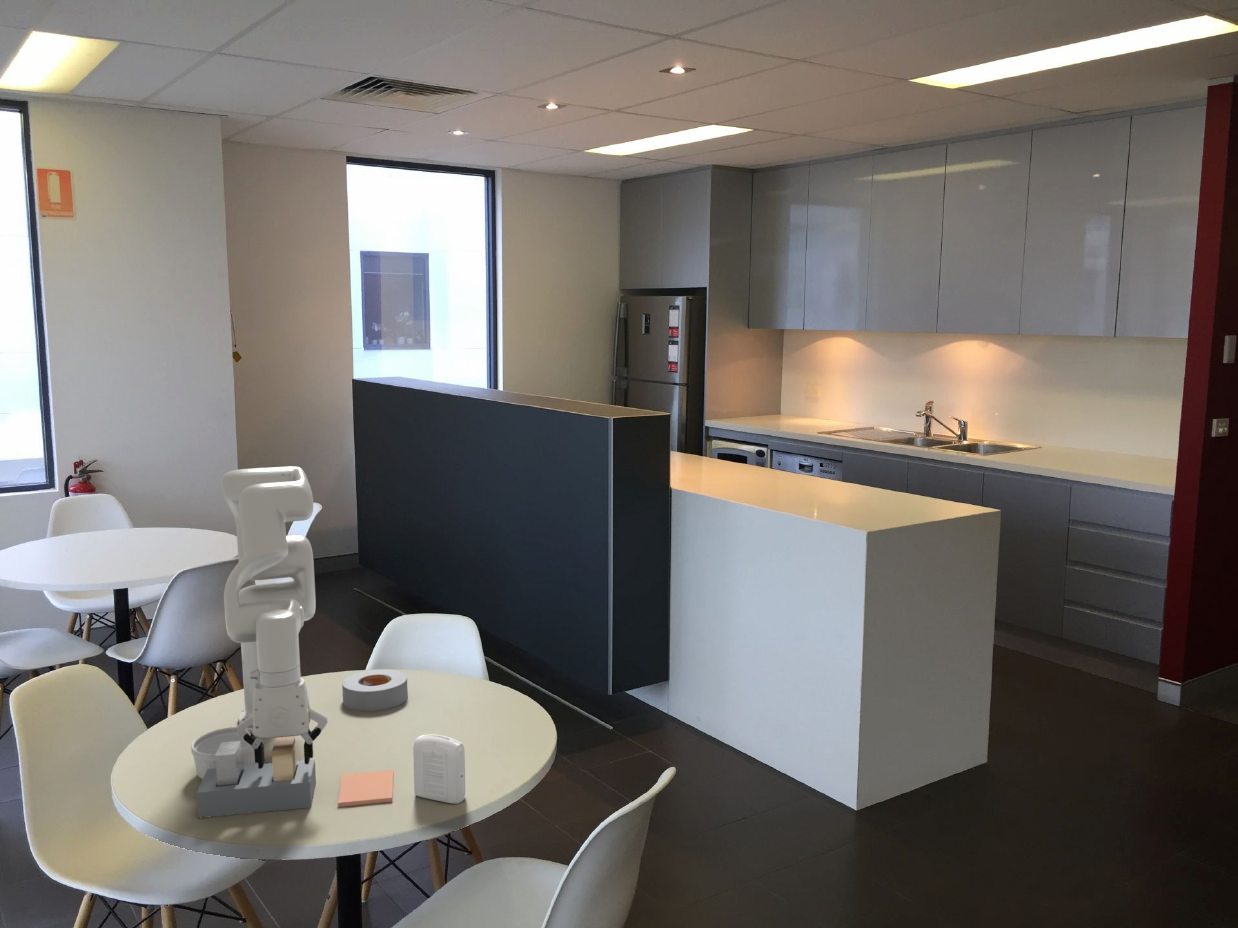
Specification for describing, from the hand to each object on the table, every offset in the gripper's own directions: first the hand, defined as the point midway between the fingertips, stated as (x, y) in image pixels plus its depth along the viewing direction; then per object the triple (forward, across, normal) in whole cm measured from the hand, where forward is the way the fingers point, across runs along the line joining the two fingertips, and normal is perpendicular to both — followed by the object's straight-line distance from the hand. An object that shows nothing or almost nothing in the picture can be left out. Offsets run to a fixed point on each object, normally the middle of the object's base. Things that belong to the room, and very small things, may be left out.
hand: (284, 762), depth 190 cm
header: (+7, -5, 0) cm, 9 cm away
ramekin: (+7, -13, +14) cm, 20 cm away
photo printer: (+7, +29, -6) cm, 30 cm away
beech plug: (+7, 0, 0) cm, 7 cm away
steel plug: (+7, -10, 0) cm, 12 cm away
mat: (+7, +15, 0) cm, 17 cm away
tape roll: (+7, +15, +48) cm, 51 cm away
